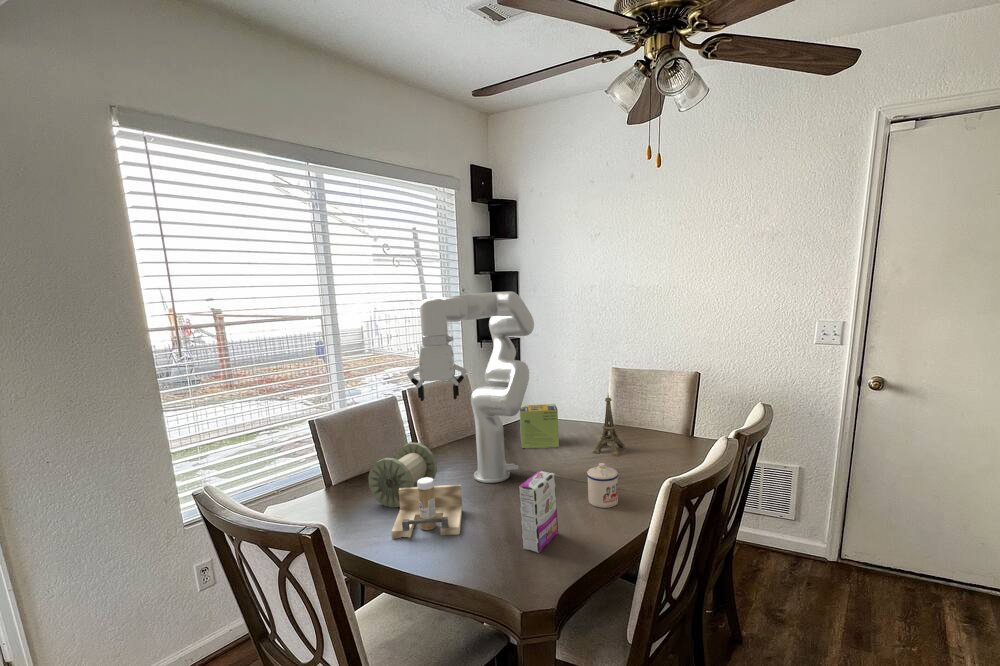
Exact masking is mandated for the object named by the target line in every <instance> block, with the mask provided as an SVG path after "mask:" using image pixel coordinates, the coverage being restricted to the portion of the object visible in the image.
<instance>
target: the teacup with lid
mask: <svg viewBox="0 0 1000 666" xmlns="http://www.w3.org/2000/svg"><path fill="white" fill-rule="evenodd" d="M586 476H587V494H588V495H587V497H588V498H587V499H588V503H589V504H590V505H592V506H593V507H596V508H601V509H609V508H612V507H615V506H616V505H618V503H619V488H618V485H619V474H618V472H617V469H614V468H612V467H609V466H607V465H606V463H604V462H599V463H598V465H597V466H595V467H594V466H593V467H591V468H589V469H588V470H587V471H586Z"/></svg>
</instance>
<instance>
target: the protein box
mask: <svg viewBox="0 0 1000 666" xmlns="http://www.w3.org/2000/svg"><path fill="white" fill-rule="evenodd" d="M519 426H520V432H519V433H520V445H521V449H522V448H525V449H547V448H549V449H550V448H560V438H559V435H560V434H559V413H558V408H557V405H556V404H555V403H549V404H546V403H545V404H529V405H528V404H527V405H526V404H525V405H521V408H520V410H519Z"/></svg>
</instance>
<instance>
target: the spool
mask: <svg viewBox="0 0 1000 666" xmlns="http://www.w3.org/2000/svg"><path fill="white" fill-rule="evenodd" d="M369 470H370V471H369V473H368V477H367V479H368V480H367V481H368V487H369V489H370V492H371V494H372V496H373V497H374V499H376V501H377V502H378V503H380V504H381V505H383V506H385V507H386V506H389V507H388V508H393V507H396V508H398V507H399V508H400V501H399V488H409V487H417V481H418V480H419V479H421V478H425V477H429V478H433V479H434V480H435V478H436V475H437V473H438V472H437V471H438V465H437V460H436V458H435V455H434V453H433V452H432V451H431V449H429V447H427V446H426V445H425V444H422V443H420V442H410V443H406V444H404V445H402V446H401V448H400V449H398V450H397V452H396V455H395V458H393V457H385V458H382V459H380V460H377V461H376V462H375V463H374V464H373V465H372V467H370V469H369ZM396 508H395V509H396Z"/></svg>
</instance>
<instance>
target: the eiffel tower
mask: <svg viewBox="0 0 1000 666" xmlns="http://www.w3.org/2000/svg"><path fill="white" fill-rule="evenodd" d="M612 401H613V399H612V397H610V395H609V394H607V397H605V400H604V402H606V403H605V416H604V425H602V429H603V431H602V436H601V437H600V440H599V442H598V443H597V445H596V446H595V448H594V450H593V451H592V452H591V454H597V455H600V454H601V453H602V449H603V448H606V449H607V448H608V447H609V445H611V449H612V450H611V451H612V454H611V456H612V457H615V458H616V457H618V458H619V457H620V456H621V455H622V454H621V453H620V451H626V450H628V447H626V446H625V444H624V443H623V442H622V440H621V439H620V438H619V435H617V432H616V427H617V426H616V424H615V423H614V417H613V412H612V404H611V402H612ZM617 447H618V448H617Z"/></svg>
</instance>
